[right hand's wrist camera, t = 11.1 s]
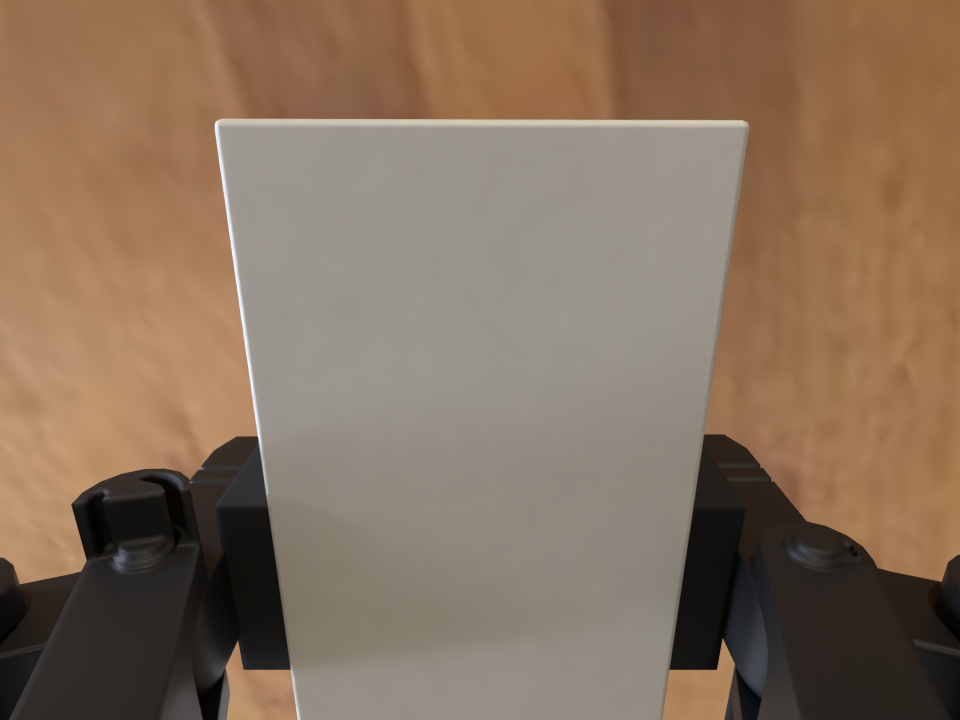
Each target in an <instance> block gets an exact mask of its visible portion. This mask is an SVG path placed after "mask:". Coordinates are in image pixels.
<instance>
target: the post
mask: <svg viewBox="0 0 960 720" xmlns="http://www.w3.org/2000/svg"><path fill="white" fill-rule="evenodd" d="M215 133H216V140H217V148H218V155H219V162H220V169H221V176H222V183H223V190H224V197H225V204H226V212H227V219H228V226H229V233H230V240H231V247H232V254H233V261H234V268H235V276H236V283H237V290H238V297H239V304H240V311H241V318H242V325H243V332H244V340H245V347H246V354H247V361H248V368H249V375H250V382H251V389H252V396H253V404H254V411H255V418H256V425H257V432H258V439H259V446H260V453H261V460H262V468H263V475H264V482H265V489H266V496H267V503H268V510H269V517H270V524H271V532H272V539H273V546H274V553H275V560H276V567H277V574H278V581H279V588H280V596H281V603H282V610H283V617H284V624H285V631H286V638H287V645H288V652H289V660H290V667H291V674H292V681H293V688H294V695H295V702H296V709H297V716H298V720H662V716H663V709H664V703H665V696H666V689H667V682H668V676H669V669H670V662H671V655H672V649H673V642H674V635H675V628H676V621H677V615H678V608H679V601H680V594H681V588H682V581H683V574H684V567H685V561H686V554H687V547H688V540H689V533H690V527H691V520H692V513H693V506H694V500H695V493H696V486H697V479H698V473H699V466H700V459H701V452H702V445H703V439H704V432H705V425H706V418H707V412H708V405H709V398H710V391H711V385H712V378H713V371H714V364H715V357H716V351H717V344H718V337H719V330H720V324H721V317H722V310H723V303H724V297H725V290H726V283H727V276H728V269H729V263H730V256H731V249H732V242H733V236H734V229H735V222H736V215H737V209H738V202H739V195H740V188H741V181H742V175H743V168H744V161H745V154H746V148H747V141H748V134H749V125H748V123H747V122H745V121H743V120H448V119H220V120H218V121H216V123H215Z"/></svg>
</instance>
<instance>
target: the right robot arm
mask: <svg viewBox="0 0 960 720" xmlns="http://www.w3.org/2000/svg"><path fill="white" fill-rule="evenodd" d="M71 505H72V509H73V512H74V516H75V519H76V523H77V527H78V530H79V534H80V537H81V541H82V545H83V548H84V552H85V556H86V559H87V561H86V563H85V566H84V568H83V570H82V571H81V572H77V573H73V574H69V575H64V576H59V577H55V578H50V579H45V580H40V581H35V582H30V583H25V584H19V581H18V578H17V575H16V572H15V569H14V566H13V565H12V564H11V563H10V562H8V561H7V560H6V559H5V558H0V720H227V712H228V704H229V696H230V692H229V685H228V678H227V673H226V668H225V667H226V665H227V663H228V660H229V658H230V656H231V654H232V652H233V650H234V648H235V645H236V643H237V641H238V642H239V647H240V653H241V658H242V664H243V669H244V670H291V667H290V660H289V652H288V645H287V638H286V631H285V624H284V617H283V610H282V603H281V596H280V588H279V581H278V574H277V567H276V560H275V553H274V546H273V539H272V532H271V524H270V517H269V510H268V503H267V496H266V489H265V482H264V475H263V468H262V460H261V453H260V446H259V439H258V437H235V438H234V439H232V440H230V441H229V442H227V443H225V444H224V445H222V446H221V447H219V448H217V449H216V450H214V451H213V452H212V454H211V455H210V456H209V457H208V459H207V460H206V461H205V462H204V464H203V465H202V466H201V470H198V471H197V472H196V473H195V475H194V476H193V477H192V478H191V479H190V482H189V478H187V477H186V476H185V475H183V474H182V473H181V472H178V471H173V470H169V469H143V470H138V471H133V472H129V473H124V474H120V475H118V476H115V477H112V478H110V479H107V480H104V481H102V482H100V483H98V484H96V485H94V486H93V487H91V488H89V489H88V490H86V491H84V492H83V493H82V494H81V495H80V496H79V497H78V498H77V499H76V500H75V501H74V502H73V503H72V504H71ZM722 638H723V639H724V641H725V644H726V646H727V648H728V650H729V652H730V654H731V656H732V658H733V661H734V663H735V668H734V673H733V678H732V683H731V689H730V694H729V699H728V704H727V709H726V714H725V720H960V555H957V556H956V557H955V558H953V559H952V560H951V561H949V562H948V564H947V567H946V570H945V574H944V577H943V580H942V582H940V581H935V580H930V579H925V578H920V577H915V576H910V575H905V574H900V573H895V572H890V571H886V570H882V569H879V568H877V566H876V564H875V562H874V560H873V559H872V558H871V556H870V555H869V554H868V553H867V551H866V550H865V549H864V548H863V547H862V546H861V545H860V544H858V543H857V542H855V541H854V540H852V539H851V538H850V537H848V536H847V535H845V534H843V533H840V532H838V531H836V530H833V529H831V528H829V527H826V526H823V525H819V524H815V523H811V522H807V521H806V520H805V519H804V518H803V516H802V515H801V514H800V513H799V512H798V510H797V509H796V508H795V507H794V506H793V504H792V503H791V502H790V501H789V499H788V498H787V497H786V496H785V495H784V493H783V492H782V491H781V490H780V488H779V487H778V486H777V485H776V484H775V482H771V477H770V476H769V475H768V474H767V473H766V471H765V470H764V469H763V468H760V464H759V463H758V462H757V460H756V459H755V458H754V457H753V456H752V454H751V453H750V452H749V451H748V449H747V448H745V447H744V446H742V445H740V444H739V443H737V442H735V441H734V440H732V439H730V438H729V437H727V436H726V435H704V439H703V445H702V452H701V459H700V466H699V473H698V479H697V486H696V493H695V500H694V506H693V513H692V520H691V527H690V533H689V540H688V547H687V554H686V561H685V567H684V574H683V581H682V588H681V594H680V601H679V608H678V615H677V621H676V628H675V635H674V642H673V649H672V655H671V662H670V669H669V670H717V666H718V661H719V655H720V650H721V644H722Z"/></svg>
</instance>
